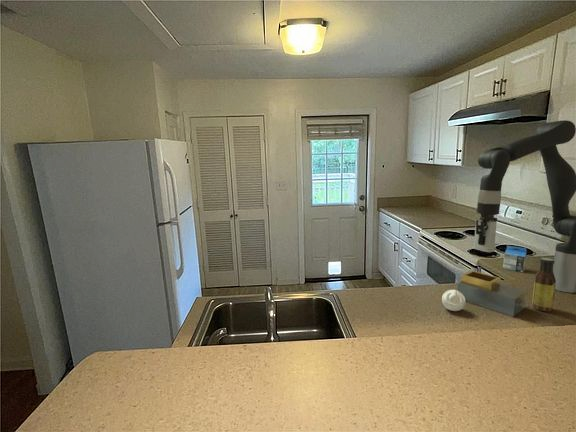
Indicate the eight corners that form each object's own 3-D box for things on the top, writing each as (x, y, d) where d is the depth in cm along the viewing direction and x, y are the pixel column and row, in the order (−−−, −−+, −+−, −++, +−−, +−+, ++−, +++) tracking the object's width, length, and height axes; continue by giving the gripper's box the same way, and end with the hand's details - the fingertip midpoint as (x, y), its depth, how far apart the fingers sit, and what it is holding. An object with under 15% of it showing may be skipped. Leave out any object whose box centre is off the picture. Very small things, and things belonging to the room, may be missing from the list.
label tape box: (502, 268, 164) (504, 246, 162) (504, 266, 167) (506, 245, 165) (522, 272, 158) (525, 249, 156) (524, 270, 160) (527, 248, 158)
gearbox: (469, 291, 135) (472, 269, 133) (524, 307, 119) (527, 283, 117) (456, 298, 128) (458, 275, 126) (513, 316, 112) (516, 291, 110)
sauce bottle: (556, 313, 115) (563, 262, 111) (537, 311, 116) (544, 261, 112) (545, 305, 121) (552, 257, 118) (527, 304, 122) (534, 256, 119)
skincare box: (494, 251, 122) (498, 221, 120) (487, 252, 120) (491, 222, 118) (479, 247, 127) (482, 219, 125) (472, 249, 125) (475, 220, 123)
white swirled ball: (441, 312, 116) (443, 292, 115) (440, 303, 123) (442, 285, 121) (465, 316, 113) (467, 296, 111) (463, 307, 119) (465, 288, 118)
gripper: (486, 199, 127) (481, 239, 130) (470, 202, 119) (466, 244, 122) (507, 201, 121) (501, 243, 124) (491, 204, 113) (486, 248, 116)
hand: (484, 243), depth 123 cm, fingers closed on skincare box, 4 cm apart
